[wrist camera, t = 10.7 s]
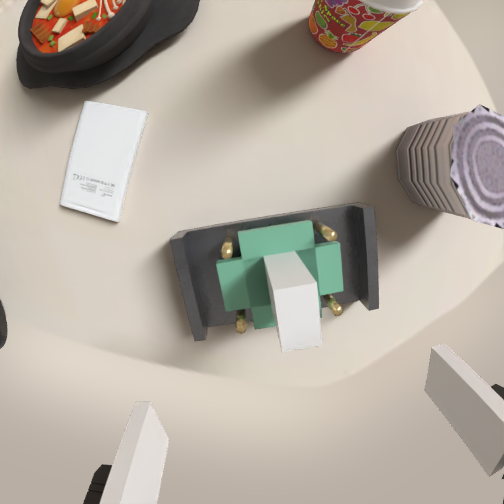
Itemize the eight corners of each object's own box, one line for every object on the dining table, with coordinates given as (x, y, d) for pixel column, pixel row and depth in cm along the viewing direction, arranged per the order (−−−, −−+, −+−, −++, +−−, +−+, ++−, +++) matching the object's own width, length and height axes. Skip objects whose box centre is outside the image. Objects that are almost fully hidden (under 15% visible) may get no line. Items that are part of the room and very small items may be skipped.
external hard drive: (150, 113, 31) (121, 220, 33) (90, 102, 30) (64, 203, 33) (146, 111, 29) (116, 222, 32) (84, 100, 28) (58, 204, 31)
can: (426, 228, 35) (489, 252, 23) (376, 154, 32) (436, 149, 21) (476, 174, 33) (540, 181, 21) (433, 103, 31) (496, 86, 19)
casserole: (192, -50, 25) (184, -88, 16) (212, 58, 29) (204, 25, 21) (27, 13, 25) (-4, -6, 17) (25, 122, 29) (-16, 116, 21)
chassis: (199, 322, 36) (192, 351, 30) (178, 231, 33) (165, 244, 27) (364, 293, 36) (386, 315, 30) (357, 202, 33) (382, 209, 27)
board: (230, 327, 33) (228, 387, 23) (212, 235, 30) (198, 265, 20) (341, 308, 33) (376, 358, 23) (333, 216, 30) (375, 236, 20)
